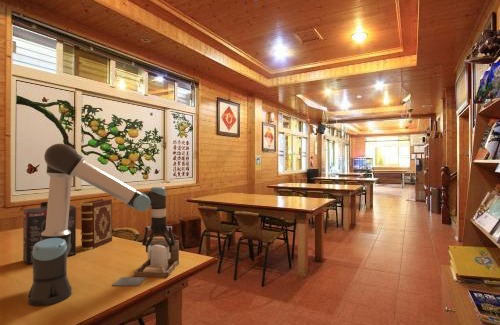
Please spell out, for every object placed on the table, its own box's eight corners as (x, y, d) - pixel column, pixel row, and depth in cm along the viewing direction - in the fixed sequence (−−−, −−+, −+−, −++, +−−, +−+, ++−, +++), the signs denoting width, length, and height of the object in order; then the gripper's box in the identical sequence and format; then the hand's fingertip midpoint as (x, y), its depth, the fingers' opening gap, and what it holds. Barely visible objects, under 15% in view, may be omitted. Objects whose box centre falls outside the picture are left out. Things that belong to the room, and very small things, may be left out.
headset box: (70, 250, 188) (70, 198, 187) (77, 255, 179) (76, 200, 179) (22, 260, 170) (22, 202, 170) (26, 265, 161) (26, 205, 161)
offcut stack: (161, 276, 144) (161, 269, 144) (141, 276, 145) (141, 269, 145) (165, 271, 151) (165, 264, 151) (146, 271, 151) (146, 264, 151)
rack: (168, 277, 144) (167, 250, 144) (134, 276, 144) (134, 250, 144) (178, 263, 163) (178, 240, 162) (149, 263, 163) (148, 240, 163)
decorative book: (89, 250, 188) (89, 203, 188) (78, 249, 190) (78, 203, 189) (112, 241, 210) (112, 199, 210) (102, 240, 212) (102, 198, 211)
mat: (137, 286, 134) (137, 285, 134) (112, 285, 134) (112, 284, 134) (145, 278, 143) (145, 277, 143) (121, 277, 143) (121, 277, 143)
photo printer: (169, 268, 155) (169, 245, 155) (163, 271, 151) (163, 247, 151) (155, 265, 160) (155, 242, 160) (149, 268, 156) (148, 244, 156)
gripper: (181, 215, 159) (182, 256, 159) (140, 215, 159) (141, 256, 160) (177, 217, 151) (178, 261, 151) (134, 217, 152) (135, 260, 152)
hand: (159, 258), depth 155 cm, fingers closed on photo printer, 10 cm apart
